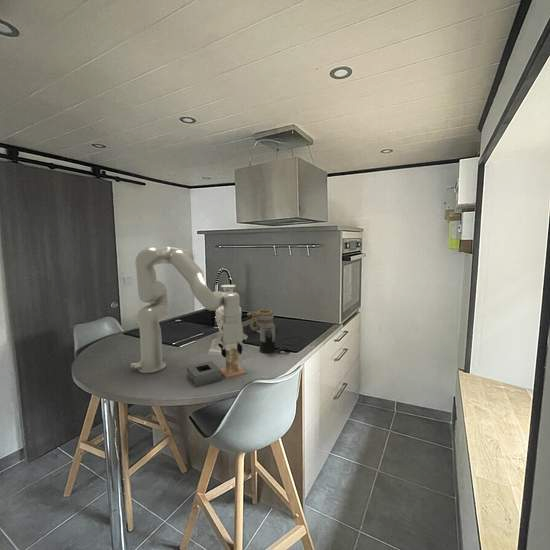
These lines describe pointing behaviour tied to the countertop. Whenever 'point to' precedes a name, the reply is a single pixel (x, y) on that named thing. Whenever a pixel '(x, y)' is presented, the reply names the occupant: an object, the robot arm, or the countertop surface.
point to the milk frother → (268, 339)
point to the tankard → (261, 319)
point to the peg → (232, 360)
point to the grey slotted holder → (203, 373)
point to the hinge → (217, 350)
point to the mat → (228, 375)
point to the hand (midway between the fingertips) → (231, 354)
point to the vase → (220, 310)
